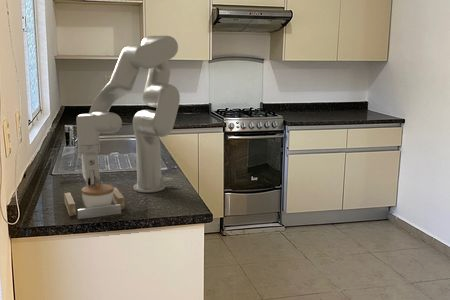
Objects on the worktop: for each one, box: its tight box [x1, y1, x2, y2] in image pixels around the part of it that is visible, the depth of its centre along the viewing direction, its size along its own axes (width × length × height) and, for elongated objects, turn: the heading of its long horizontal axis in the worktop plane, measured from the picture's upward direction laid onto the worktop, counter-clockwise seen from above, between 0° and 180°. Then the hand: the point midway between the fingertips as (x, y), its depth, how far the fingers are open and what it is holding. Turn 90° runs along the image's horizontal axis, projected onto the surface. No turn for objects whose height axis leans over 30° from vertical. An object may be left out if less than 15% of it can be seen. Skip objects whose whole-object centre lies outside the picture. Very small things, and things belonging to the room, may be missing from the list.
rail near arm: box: [112, 187, 125, 210], centre depth 176 cm, size 2×14×4 cm, turn 24°
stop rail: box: [76, 203, 122, 220], centre depth 163 cm, size 14×2×3 cm, turn 114°
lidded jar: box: [81, 182, 115, 208], centre depth 169 cm, size 11×11×9 cm
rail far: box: [63, 192, 77, 217], centre depth 170 cm, size 2×14×4 cm, turn 24°
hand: (91, 198), depth 177 cm, fingers closed
